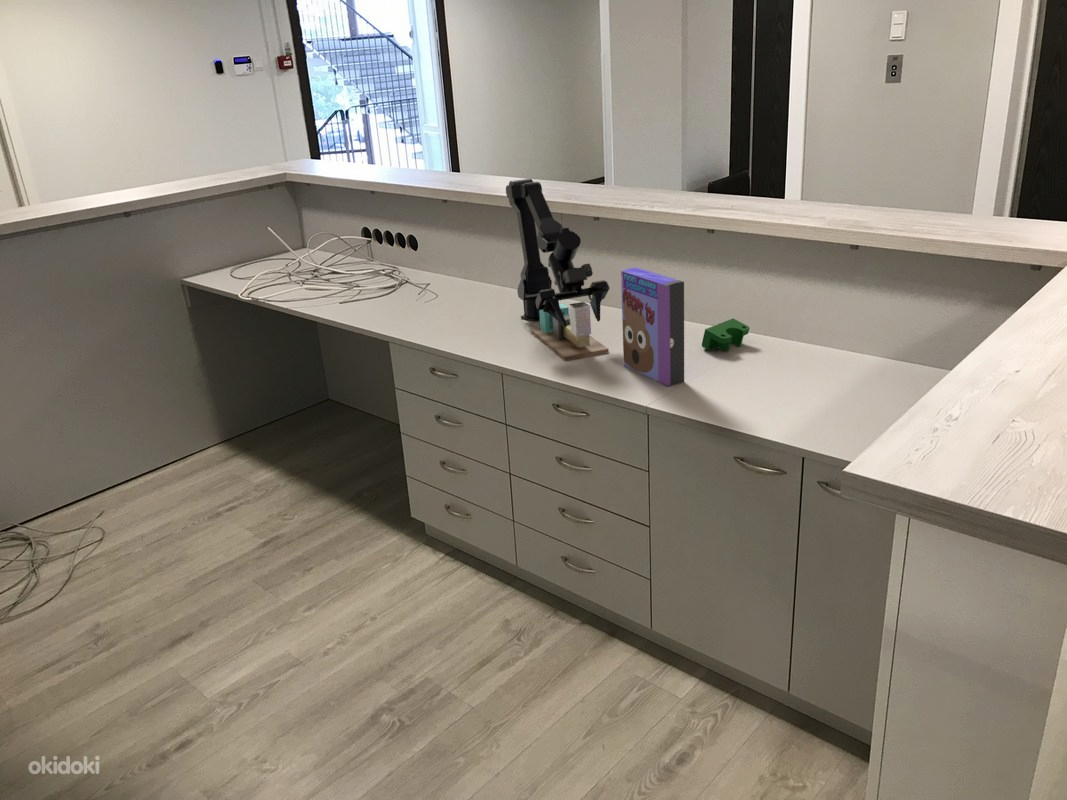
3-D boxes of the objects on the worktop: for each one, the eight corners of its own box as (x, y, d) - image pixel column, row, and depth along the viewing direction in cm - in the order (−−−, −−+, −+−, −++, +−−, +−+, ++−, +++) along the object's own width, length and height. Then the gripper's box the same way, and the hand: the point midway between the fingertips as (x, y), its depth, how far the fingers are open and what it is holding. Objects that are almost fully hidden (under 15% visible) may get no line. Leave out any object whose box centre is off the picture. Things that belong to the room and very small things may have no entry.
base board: (531, 332, 243) (531, 329, 242) (571, 325, 246) (571, 322, 246) (565, 360, 220) (564, 356, 220) (608, 352, 224) (608, 348, 224)
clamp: (721, 368, 220) (719, 343, 214) (703, 358, 224) (700, 333, 217) (752, 341, 224) (751, 315, 217) (734, 331, 228) (732, 305, 221)
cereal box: (623, 366, 214) (620, 270, 205) (639, 361, 216) (637, 266, 207) (667, 387, 200) (666, 284, 191) (684, 382, 202) (684, 280, 193)
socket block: (540, 328, 242) (539, 307, 240) (564, 324, 244) (562, 303, 242) (545, 332, 239) (544, 311, 236) (569, 328, 241) (568, 307, 238)
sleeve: (553, 336, 236) (552, 317, 233) (572, 333, 237) (571, 314, 235) (559, 340, 232) (557, 321, 230) (577, 337, 234) (576, 317, 231)
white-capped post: (555, 331, 236) (552, 293, 232) (569, 328, 237) (566, 291, 233) (577, 347, 222) (575, 308, 218) (591, 345, 223) (589, 305, 219)
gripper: (536, 259, 217) (554, 313, 211) (605, 249, 222) (625, 301, 216) (527, 283, 226) (545, 335, 221) (594, 272, 232) (612, 323, 226)
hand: (582, 323), depth 221 cm, fingers open, 9 cm apart
